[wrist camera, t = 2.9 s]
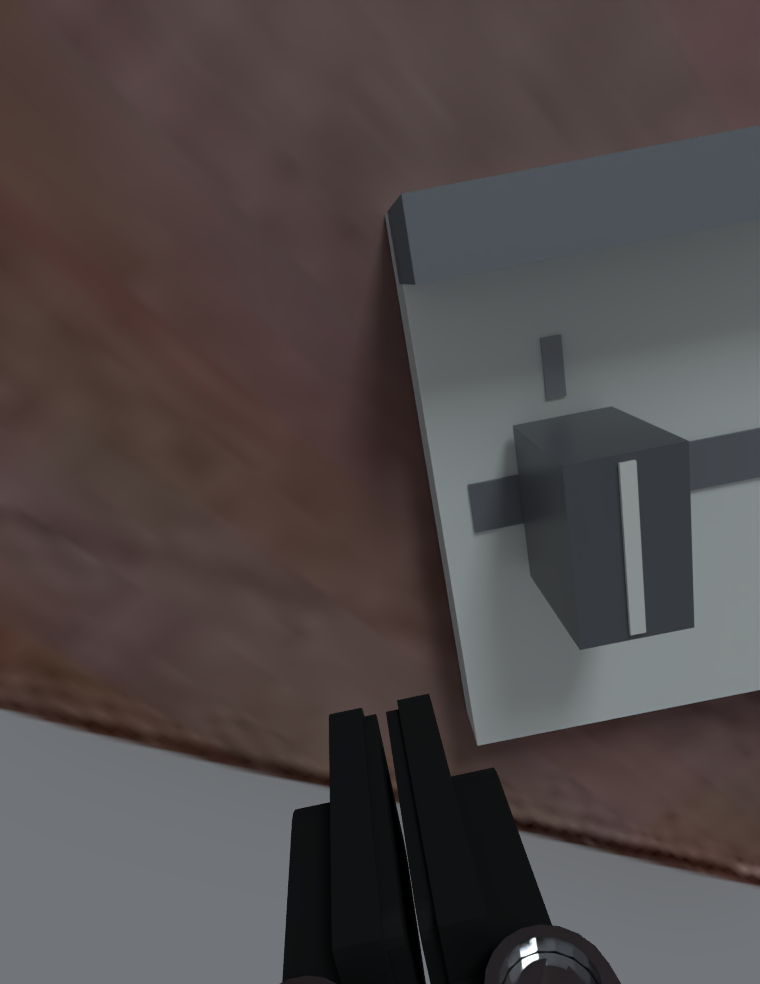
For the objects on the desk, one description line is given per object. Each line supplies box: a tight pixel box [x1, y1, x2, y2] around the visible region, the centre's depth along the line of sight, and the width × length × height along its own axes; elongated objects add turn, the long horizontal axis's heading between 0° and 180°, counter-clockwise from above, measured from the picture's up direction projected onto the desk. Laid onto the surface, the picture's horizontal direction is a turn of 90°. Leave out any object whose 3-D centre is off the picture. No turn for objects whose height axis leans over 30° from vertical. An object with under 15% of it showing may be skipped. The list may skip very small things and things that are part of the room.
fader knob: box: [513, 406, 694, 650], centre depth 18 cm, size 3×5×4 cm, turn 10°
